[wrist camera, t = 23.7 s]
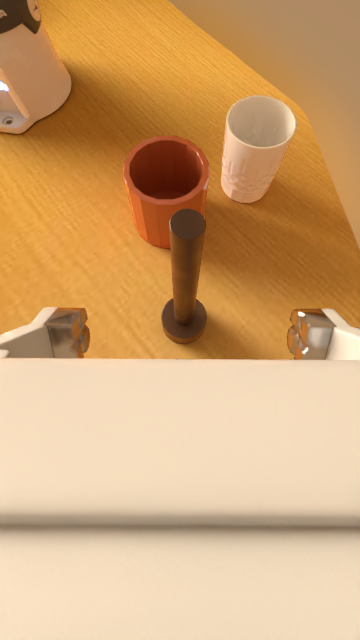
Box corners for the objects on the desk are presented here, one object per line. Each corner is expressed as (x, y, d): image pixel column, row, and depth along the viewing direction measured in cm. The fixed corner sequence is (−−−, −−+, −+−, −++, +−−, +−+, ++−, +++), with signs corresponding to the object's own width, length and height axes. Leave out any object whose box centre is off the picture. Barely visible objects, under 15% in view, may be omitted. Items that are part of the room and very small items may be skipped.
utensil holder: (132, 248, 42) (120, 204, 34) (136, 189, 45) (125, 135, 36) (203, 248, 42) (209, 204, 34) (202, 189, 45) (207, 135, 36)
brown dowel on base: (162, 344, 38) (142, 262, 18) (162, 303, 40) (146, 187, 20) (205, 344, 38) (232, 262, 18) (204, 303, 40) (228, 187, 20)
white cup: (207, 194, 45) (215, 133, 35) (229, 154, 47) (242, 86, 37) (260, 215, 44) (282, 158, 34) (280, 173, 46) (306, 108, 36)
